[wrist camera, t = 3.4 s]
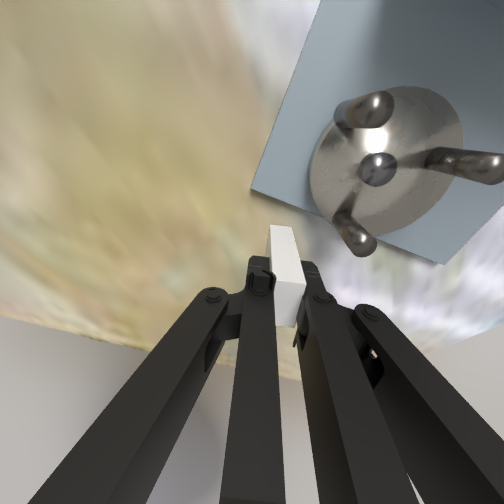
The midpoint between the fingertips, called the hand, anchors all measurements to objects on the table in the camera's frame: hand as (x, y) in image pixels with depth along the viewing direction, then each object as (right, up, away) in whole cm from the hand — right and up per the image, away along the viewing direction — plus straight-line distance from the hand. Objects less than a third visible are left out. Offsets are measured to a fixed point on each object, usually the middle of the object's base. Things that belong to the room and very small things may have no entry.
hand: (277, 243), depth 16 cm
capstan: (+9, +7, +5) cm, 13 cm away
